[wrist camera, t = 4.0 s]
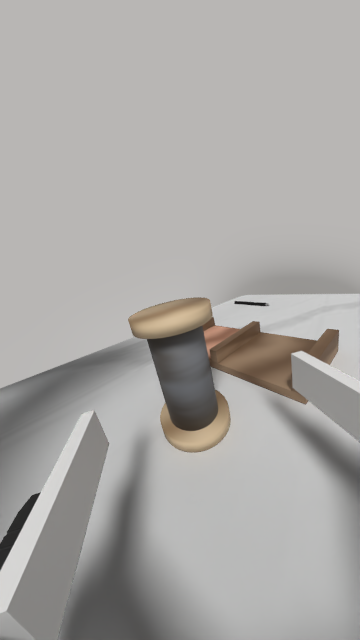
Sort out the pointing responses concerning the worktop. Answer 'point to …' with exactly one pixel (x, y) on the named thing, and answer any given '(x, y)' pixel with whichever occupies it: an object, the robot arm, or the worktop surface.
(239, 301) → the black pen
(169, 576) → the worktop surface
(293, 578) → the worktop surface
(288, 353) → the slot cradle
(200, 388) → the cord spool
